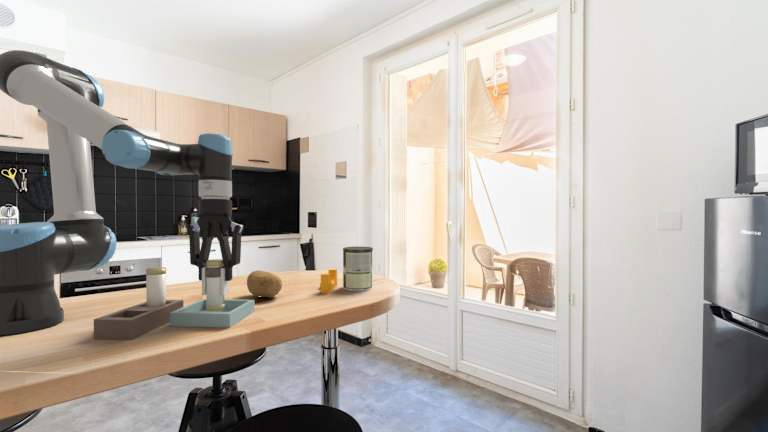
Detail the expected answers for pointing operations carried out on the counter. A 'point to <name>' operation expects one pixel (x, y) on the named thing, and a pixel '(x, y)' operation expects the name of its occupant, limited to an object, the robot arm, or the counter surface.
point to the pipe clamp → (328, 281)
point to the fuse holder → (134, 321)
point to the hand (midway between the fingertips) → (215, 293)
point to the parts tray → (212, 314)
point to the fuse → (156, 287)
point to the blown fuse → (214, 285)
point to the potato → (264, 284)
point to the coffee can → (357, 268)
